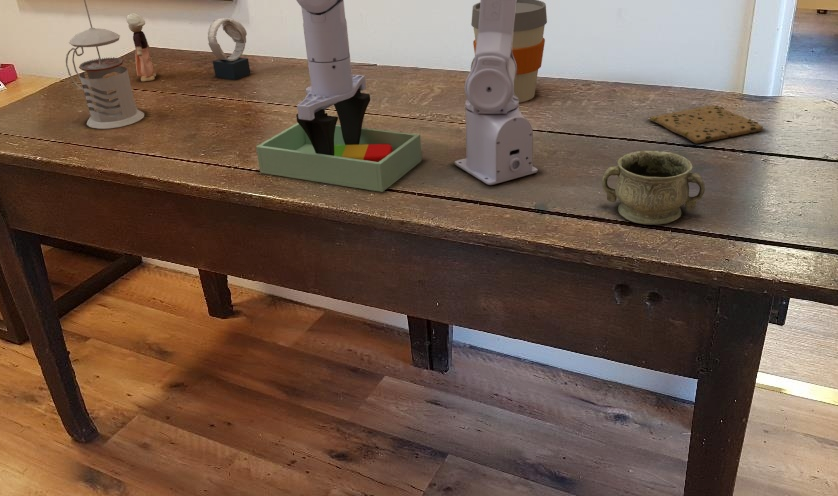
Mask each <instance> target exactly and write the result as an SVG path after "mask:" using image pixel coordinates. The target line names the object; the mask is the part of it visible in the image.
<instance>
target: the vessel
mask: <svg viewBox="0 0 838 496" xmlns="http://www.w3.org/2000/svg"><path fill="white" fill-rule="evenodd" d="M692 169H693V164H692V161H690V160H689V159H688V158H686V157H684V156H683V155H681V154H677V153H675V152H670V151H664V150H637V151H633V152H630V153H627V154H623V156H621V157H620V158H618V160H617V166H616V165H613V166H610V167H608V168H607V169H606V170H605V172H604V174H603V175H602V179H601V186H602V188H603V190H604V191H605V192H606V200H607V201H608V202H610V203H615V202H616V201H617V199H618V201H620V202H621V203H619V205H618V207H617V211H618V213H619V216H621V217H623V218H624V219H625V220H627V221H630V222H633V223H636V224H641V225H648V226H649V225H651V226H652V225H653V226H654V225H655V226H656V225H657V226H658V225H663V224H669V223H672V222H675V221H676V220H678V219H679V218H681V215H682V209H681V207H682V206H684V205H685V209H686V211H689V212H691V211H692V212H693V211H695V209H696V208H697V202H698V201H700V200H701V199H702V198H703V196H704V195H705V191H706V186H705V185H706V184H705V182H704V180H703V177H702V176H701V175H700V174H698V173H697V172H691V171H692ZM611 176H617V180H616V182H615V186H614V188H613V187H610V186H609V185H608V180H609V178H610V177H611ZM690 183H692V184H696V185H698V187H699V191H698V193H697V195H694V196H690Z"/></svg>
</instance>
